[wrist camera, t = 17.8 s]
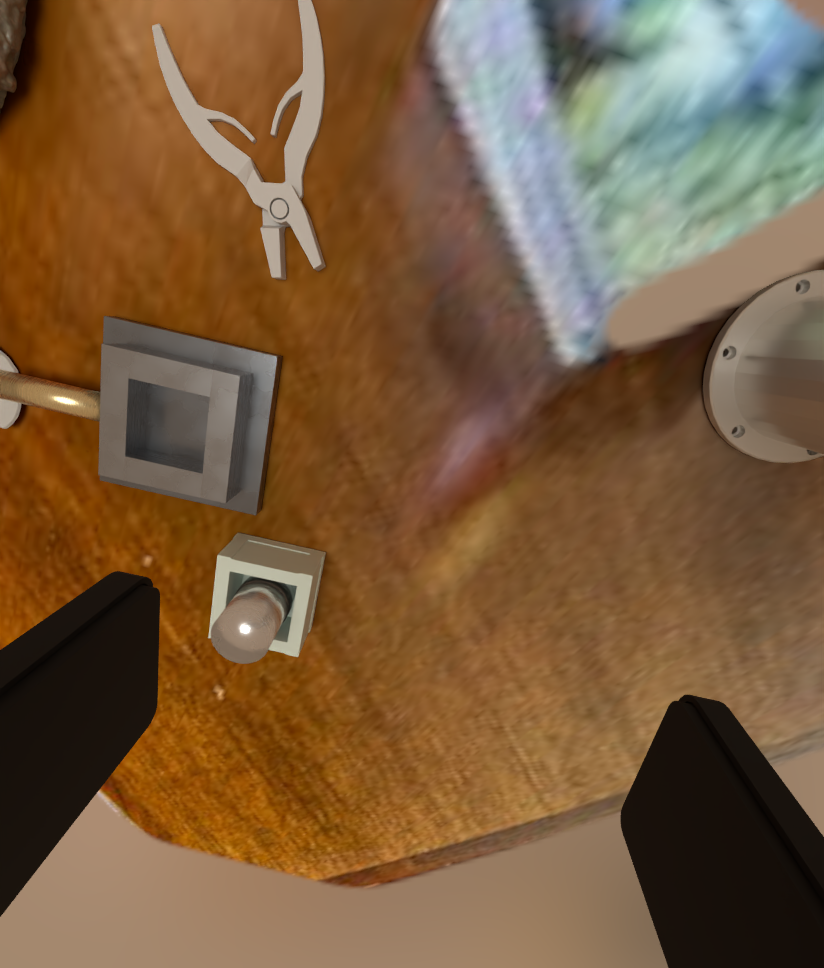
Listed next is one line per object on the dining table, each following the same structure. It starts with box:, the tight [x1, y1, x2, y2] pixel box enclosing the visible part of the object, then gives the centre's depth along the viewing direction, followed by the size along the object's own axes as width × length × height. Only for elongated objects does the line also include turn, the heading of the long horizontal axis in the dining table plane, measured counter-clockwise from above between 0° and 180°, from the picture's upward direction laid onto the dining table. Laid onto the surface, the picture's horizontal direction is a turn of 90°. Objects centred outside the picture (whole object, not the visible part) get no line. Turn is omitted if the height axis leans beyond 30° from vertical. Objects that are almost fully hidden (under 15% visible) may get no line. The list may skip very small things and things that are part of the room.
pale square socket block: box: [208, 533, 326, 657], centre depth 37 cm, size 7×7×4 cm
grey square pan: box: [0, 316, 283, 515], centre depth 33 cm, size 18×12×4 cm, turn 77°
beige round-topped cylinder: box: [211, 576, 297, 664], centre depth 35 cm, size 4×4×7 cm
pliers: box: [152, 0, 326, 280], centre depth 29 cm, size 10×2×15 cm
